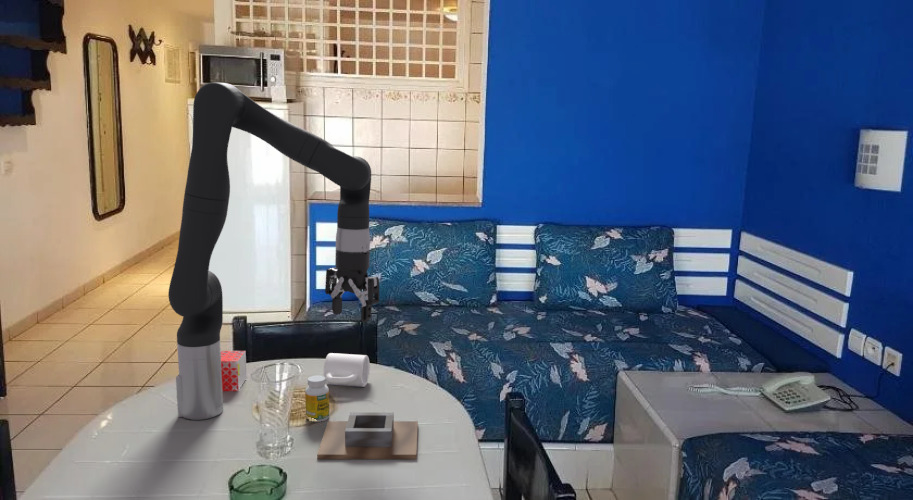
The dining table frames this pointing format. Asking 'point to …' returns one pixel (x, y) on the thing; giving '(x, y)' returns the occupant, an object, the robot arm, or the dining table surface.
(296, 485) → the dining table surface
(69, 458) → the dining table surface
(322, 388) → the supplement bottle
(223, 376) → the red patterned cube
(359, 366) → the mug
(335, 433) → the dock socket
